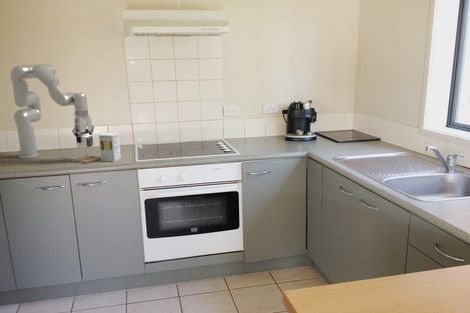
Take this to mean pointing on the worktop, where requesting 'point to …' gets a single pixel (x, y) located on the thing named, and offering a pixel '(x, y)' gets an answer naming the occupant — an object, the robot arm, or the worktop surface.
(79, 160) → the oak trivet
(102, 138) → the supplement box
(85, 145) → the medicine bottle
